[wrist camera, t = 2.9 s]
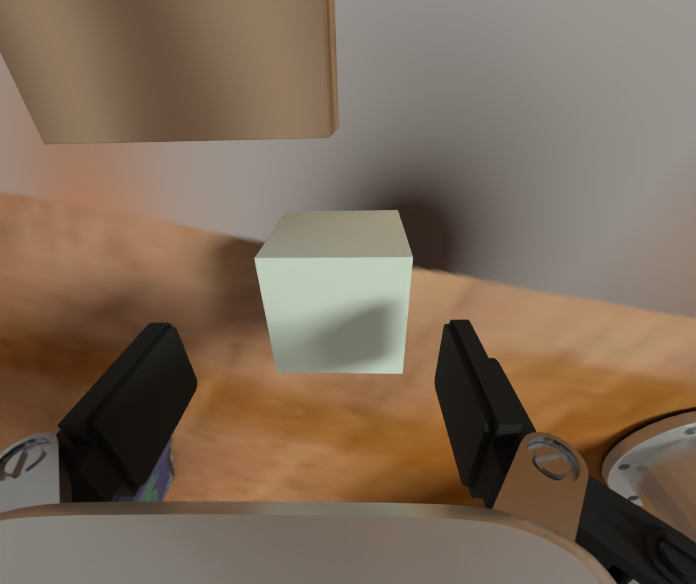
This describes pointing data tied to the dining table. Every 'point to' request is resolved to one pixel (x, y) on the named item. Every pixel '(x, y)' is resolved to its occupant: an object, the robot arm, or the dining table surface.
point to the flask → (155, 480)
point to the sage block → (337, 291)
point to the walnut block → (173, 68)
